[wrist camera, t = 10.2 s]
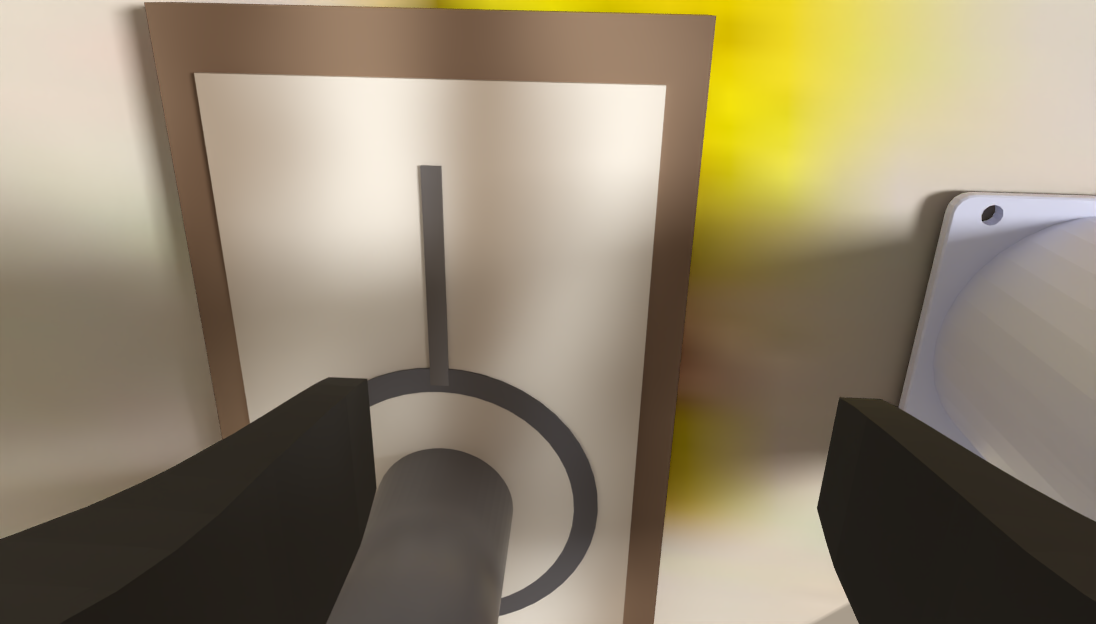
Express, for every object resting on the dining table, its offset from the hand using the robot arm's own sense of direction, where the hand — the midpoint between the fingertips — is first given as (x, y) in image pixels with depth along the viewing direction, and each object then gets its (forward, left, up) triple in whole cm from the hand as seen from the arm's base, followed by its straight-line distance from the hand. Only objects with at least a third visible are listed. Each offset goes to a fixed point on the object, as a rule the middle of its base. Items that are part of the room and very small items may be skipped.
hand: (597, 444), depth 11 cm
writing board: (+4, +4, -9) cm, 11 cm away
